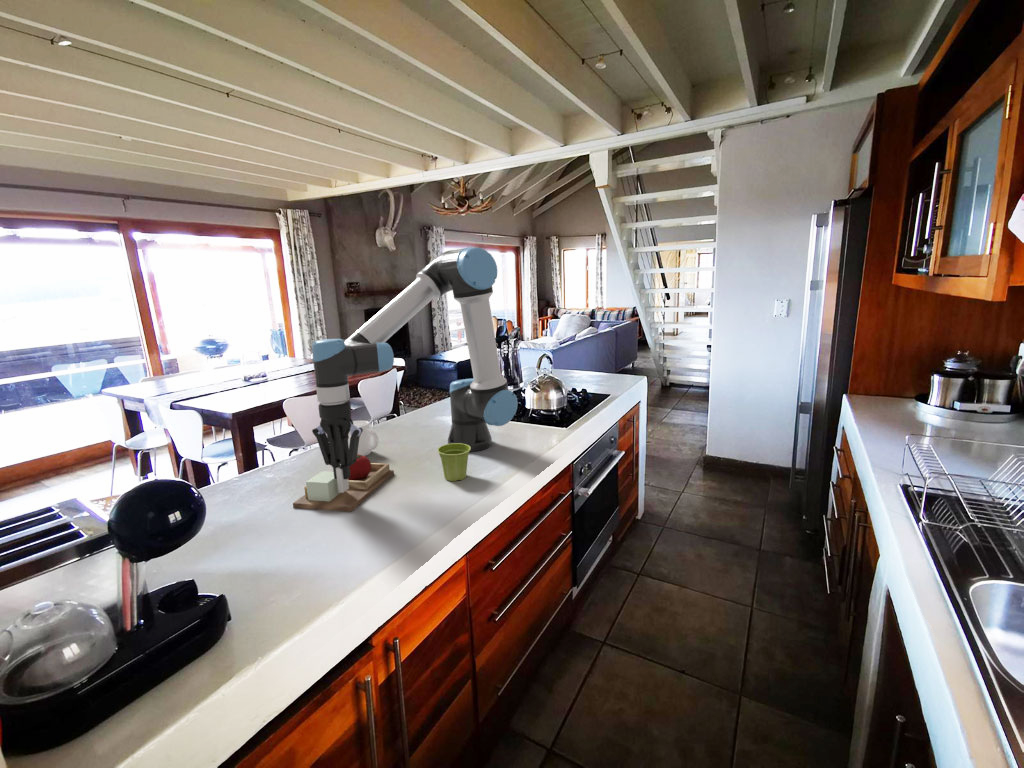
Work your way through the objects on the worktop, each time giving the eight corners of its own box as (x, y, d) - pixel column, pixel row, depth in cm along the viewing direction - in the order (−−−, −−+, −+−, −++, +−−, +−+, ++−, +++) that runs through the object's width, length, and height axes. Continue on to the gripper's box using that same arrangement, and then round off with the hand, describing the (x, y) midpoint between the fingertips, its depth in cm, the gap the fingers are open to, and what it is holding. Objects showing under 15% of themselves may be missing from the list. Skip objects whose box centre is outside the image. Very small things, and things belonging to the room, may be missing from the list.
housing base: (394, 474, 138) (392, 460, 137) (351, 511, 115) (349, 495, 114) (344, 471, 141) (343, 458, 140) (293, 507, 118) (291, 492, 117)
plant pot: (477, 472, 137) (475, 444, 135) (463, 485, 128) (462, 455, 127) (448, 469, 140) (446, 442, 138) (433, 482, 131) (431, 452, 130)
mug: (386, 451, 158) (383, 422, 156) (371, 460, 150) (368, 429, 148) (356, 448, 162) (353, 419, 160) (340, 456, 154) (337, 426, 152)
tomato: (376, 477, 133) (374, 453, 131) (350, 486, 127) (347, 461, 126) (362, 470, 138) (359, 447, 137) (336, 478, 133) (333, 454, 131)
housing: (344, 490, 125) (342, 472, 124) (329, 501, 118) (327, 482, 117) (324, 488, 126) (322, 471, 125) (308, 500, 119) (305, 481, 118)
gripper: (365, 398, 119) (373, 485, 123) (319, 397, 121) (329, 483, 126) (350, 405, 112) (359, 498, 116) (301, 404, 114) (312, 495, 119)
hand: (343, 490), depth 121 cm, fingers closed
